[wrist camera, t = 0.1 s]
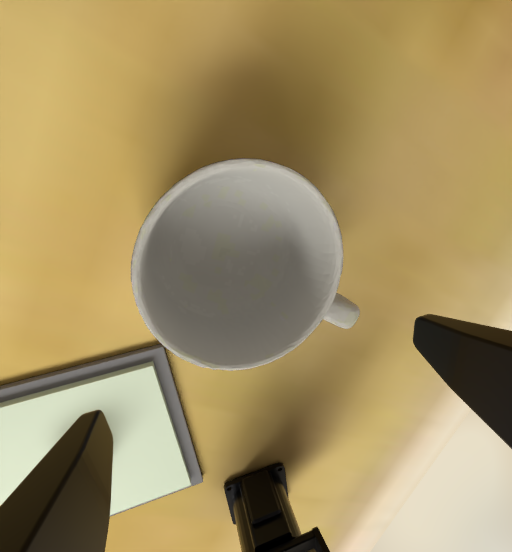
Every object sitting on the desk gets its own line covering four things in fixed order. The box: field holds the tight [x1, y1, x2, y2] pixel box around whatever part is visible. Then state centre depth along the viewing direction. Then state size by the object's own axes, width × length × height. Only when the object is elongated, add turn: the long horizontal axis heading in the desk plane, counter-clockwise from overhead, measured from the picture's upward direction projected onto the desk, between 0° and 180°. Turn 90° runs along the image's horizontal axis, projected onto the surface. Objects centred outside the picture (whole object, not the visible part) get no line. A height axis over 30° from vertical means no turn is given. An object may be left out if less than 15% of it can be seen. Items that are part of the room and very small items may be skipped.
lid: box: [0, 361, 191, 515], centre depth 22 cm, size 14×14×5 cm
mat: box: [0, 344, 203, 516], centre depth 24 cm, size 16×16×1 cm
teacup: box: [131, 158, 360, 371], centre depth 19 cm, size 14×11×8 cm
